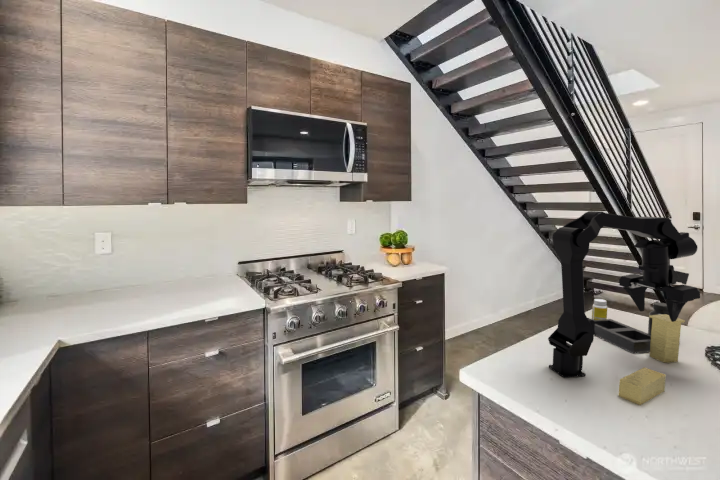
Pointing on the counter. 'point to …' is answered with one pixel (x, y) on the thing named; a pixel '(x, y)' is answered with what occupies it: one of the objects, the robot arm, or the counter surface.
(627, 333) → the compartment tray
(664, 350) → the brass block
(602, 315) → the supplement bottle
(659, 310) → the supplement bottle
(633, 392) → the block
